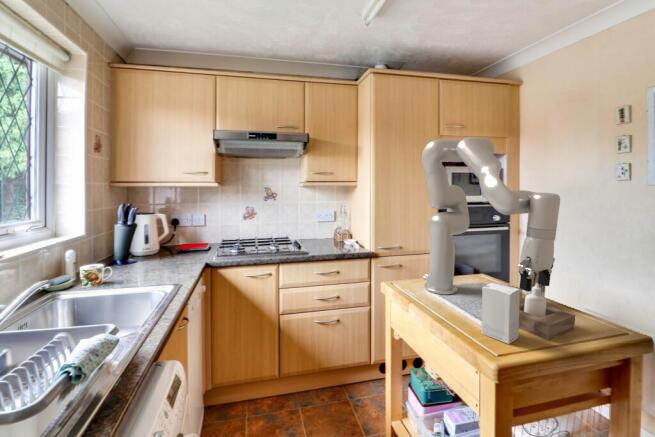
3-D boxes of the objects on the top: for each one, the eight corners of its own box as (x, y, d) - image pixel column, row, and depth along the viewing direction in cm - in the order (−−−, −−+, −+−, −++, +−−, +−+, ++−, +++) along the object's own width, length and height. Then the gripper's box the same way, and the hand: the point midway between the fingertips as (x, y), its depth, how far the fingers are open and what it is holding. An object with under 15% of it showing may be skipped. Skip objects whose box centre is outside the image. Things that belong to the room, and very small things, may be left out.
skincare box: (518, 339, 93) (522, 289, 91) (508, 345, 89) (512, 293, 87) (489, 327, 100) (492, 281, 98) (479, 333, 96) (482, 285, 94)
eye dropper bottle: (543, 325, 99) (546, 287, 97) (522, 320, 102) (525, 283, 101) (545, 320, 102) (548, 283, 100) (525, 315, 106) (528, 280, 104)
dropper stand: (495, 318, 106) (496, 305, 105) (521, 309, 112) (522, 297, 112) (547, 340, 92) (549, 325, 91) (573, 329, 98) (575, 315, 98)
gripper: (544, 229, 106) (538, 279, 108) (511, 233, 98) (505, 287, 100) (569, 233, 99) (562, 286, 102) (536, 238, 91) (530, 296, 94)
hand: (534, 287), depth 101 cm, fingers open, 9 cm apart
